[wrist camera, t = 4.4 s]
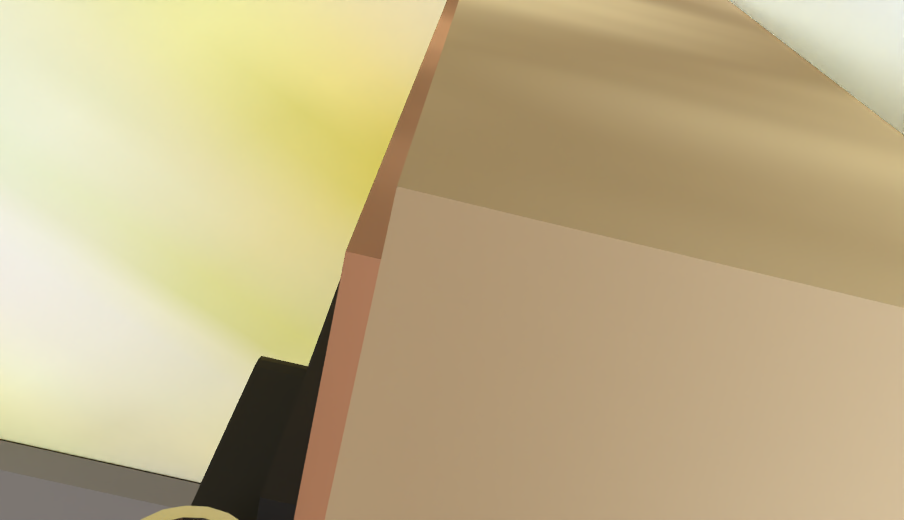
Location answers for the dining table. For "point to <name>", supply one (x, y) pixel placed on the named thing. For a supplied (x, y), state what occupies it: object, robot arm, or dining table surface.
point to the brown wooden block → (619, 282)
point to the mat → (81, 488)
